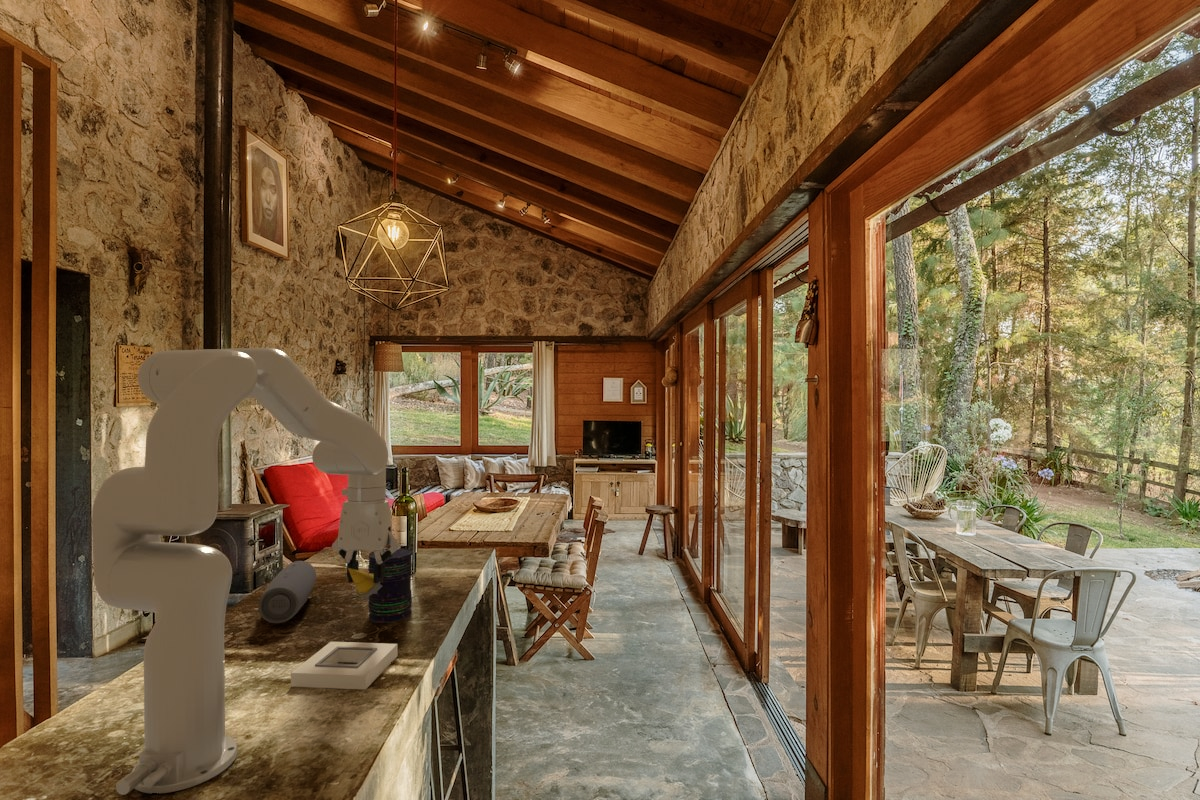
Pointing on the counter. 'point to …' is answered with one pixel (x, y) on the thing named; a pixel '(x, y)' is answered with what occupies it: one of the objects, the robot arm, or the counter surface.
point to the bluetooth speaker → (287, 592)
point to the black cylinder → (392, 588)
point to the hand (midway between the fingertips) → (365, 580)
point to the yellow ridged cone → (364, 583)
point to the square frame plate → (344, 665)
